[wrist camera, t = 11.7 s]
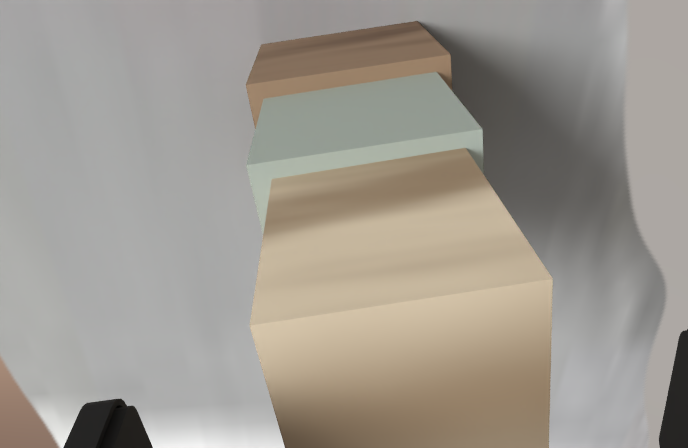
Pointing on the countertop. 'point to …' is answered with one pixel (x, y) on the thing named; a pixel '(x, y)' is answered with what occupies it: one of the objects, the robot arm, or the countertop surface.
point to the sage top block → (357, 129)
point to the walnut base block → (345, 61)
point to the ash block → (402, 310)
